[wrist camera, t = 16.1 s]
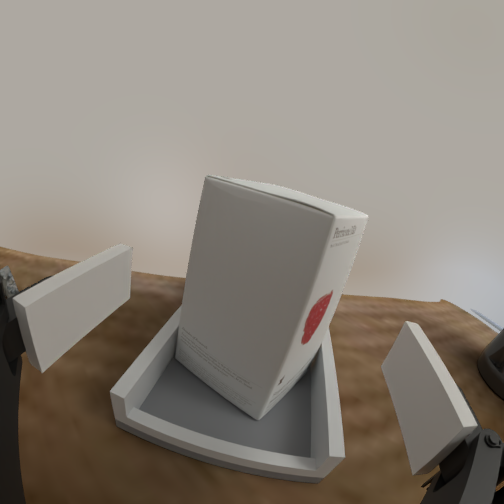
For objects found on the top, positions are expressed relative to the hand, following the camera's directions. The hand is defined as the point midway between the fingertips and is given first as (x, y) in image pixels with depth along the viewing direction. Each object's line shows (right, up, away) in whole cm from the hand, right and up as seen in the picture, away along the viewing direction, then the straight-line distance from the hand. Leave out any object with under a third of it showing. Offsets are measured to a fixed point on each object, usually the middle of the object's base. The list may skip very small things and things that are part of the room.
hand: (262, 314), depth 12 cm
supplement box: (-1, -7, +11) cm, 13 cm away
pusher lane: (-1, -8, +12) cm, 14 cm away
